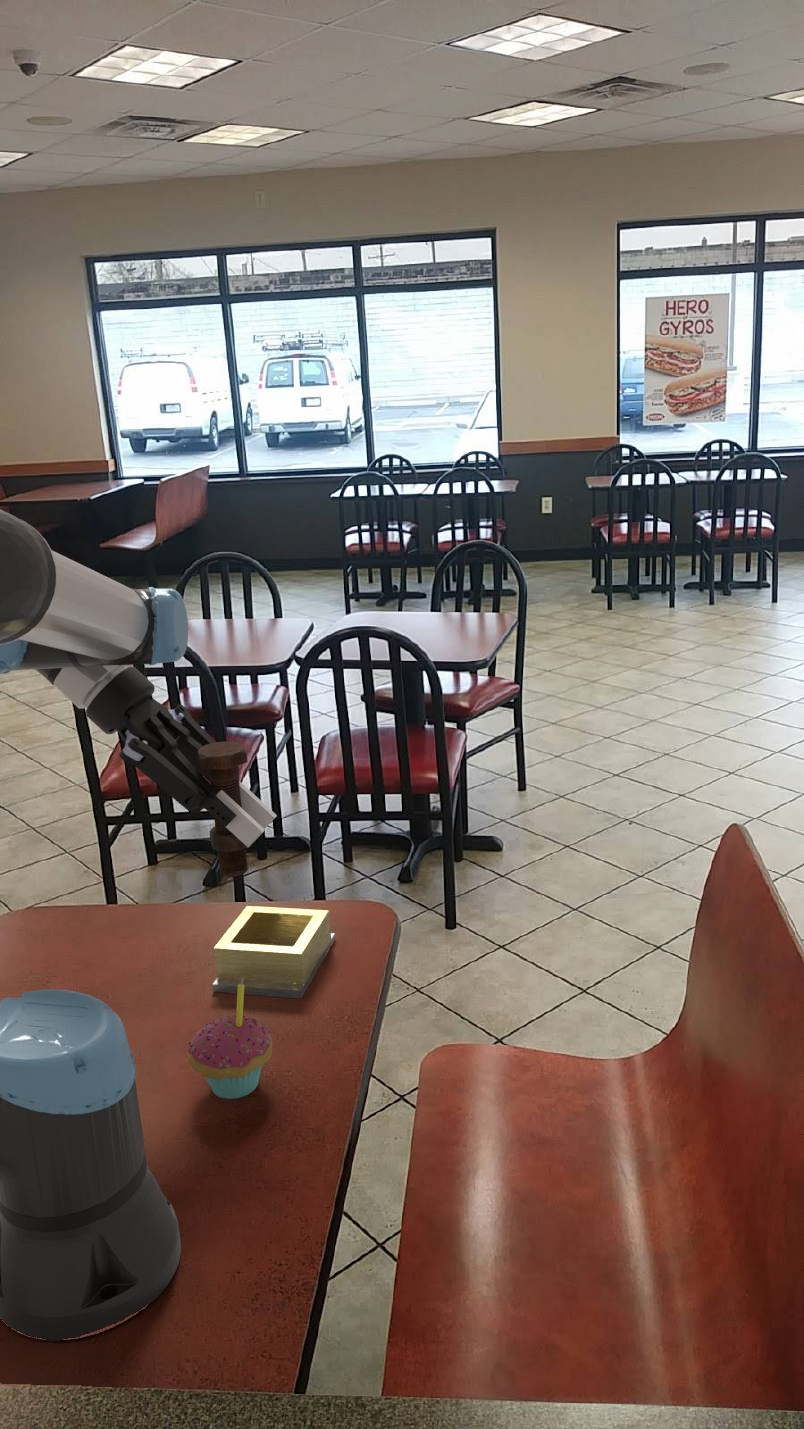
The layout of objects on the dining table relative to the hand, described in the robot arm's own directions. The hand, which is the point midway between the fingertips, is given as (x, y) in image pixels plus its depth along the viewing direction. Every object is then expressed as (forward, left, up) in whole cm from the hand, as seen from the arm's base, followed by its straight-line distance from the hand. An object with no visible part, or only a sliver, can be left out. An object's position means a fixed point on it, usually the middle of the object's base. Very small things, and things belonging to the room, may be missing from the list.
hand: (262, 831), depth 123 cm
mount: (+7, +3, -21) cm, 22 cm away
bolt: (0, +4, -5) cm, 7 cm away
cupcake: (-17, -1, -21) cm, 27 cm away
